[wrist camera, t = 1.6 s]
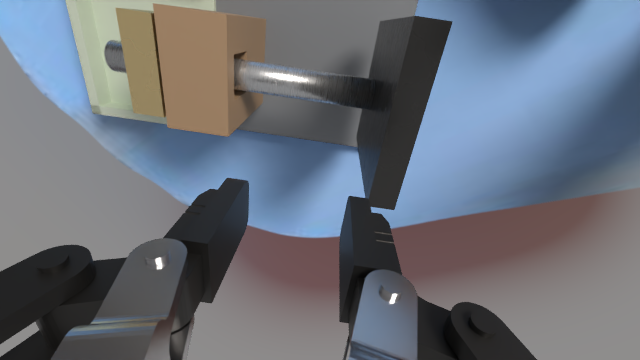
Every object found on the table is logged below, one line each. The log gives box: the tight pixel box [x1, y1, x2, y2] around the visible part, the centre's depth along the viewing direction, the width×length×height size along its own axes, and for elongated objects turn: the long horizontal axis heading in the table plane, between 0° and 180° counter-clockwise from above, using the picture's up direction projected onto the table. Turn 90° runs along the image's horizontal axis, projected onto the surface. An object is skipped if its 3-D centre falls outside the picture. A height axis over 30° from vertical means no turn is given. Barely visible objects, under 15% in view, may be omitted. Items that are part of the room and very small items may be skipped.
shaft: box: [104, 16, 452, 210], centre depth 18 cm, size 19×9×11 cm, turn 82°
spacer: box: [115, 8, 166, 118], centre depth 20 cm, size 2×6×6 cm, turn 172°
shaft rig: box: [66, 0, 418, 147], centre depth 22 cm, size 28×13×11 cm, turn 82°
